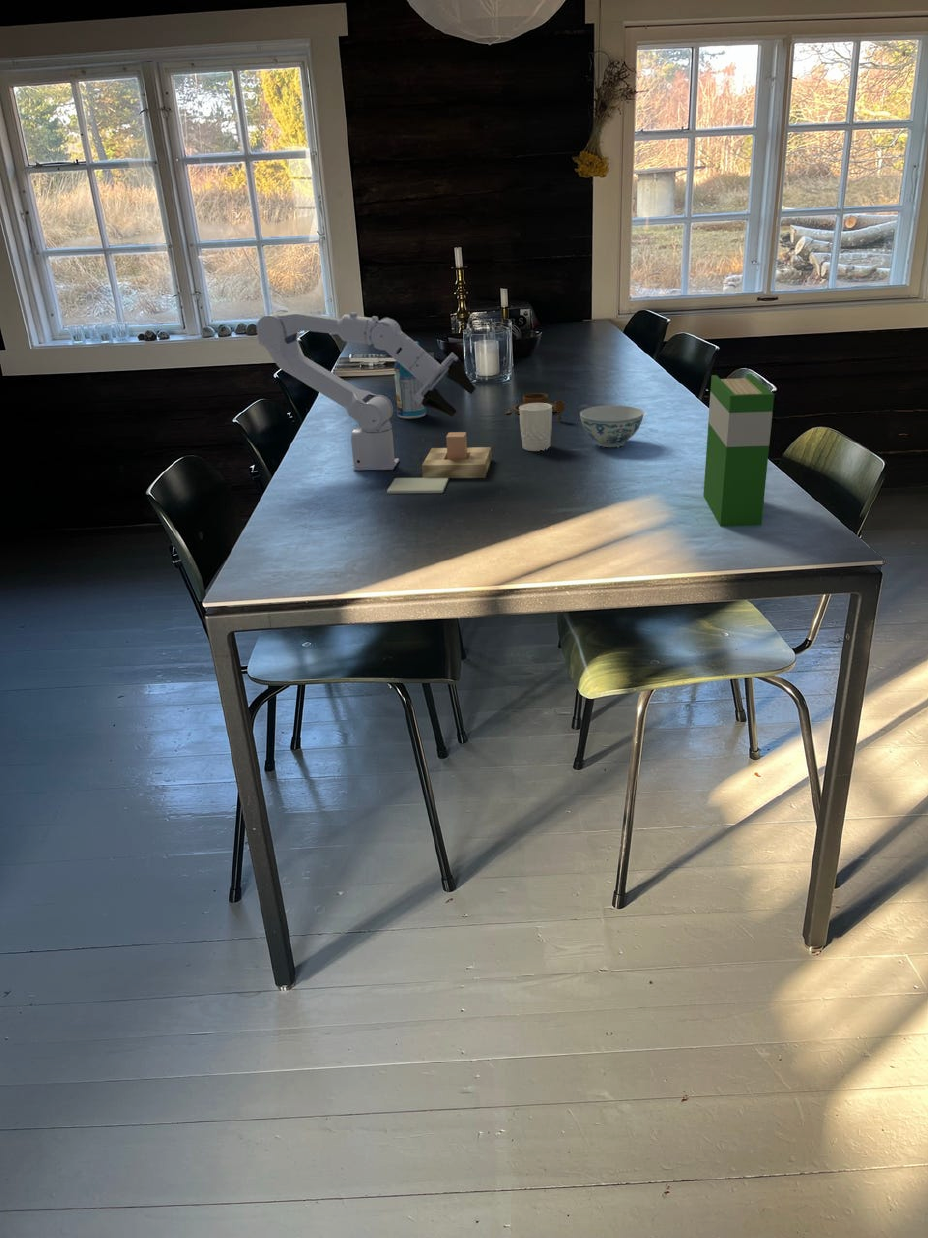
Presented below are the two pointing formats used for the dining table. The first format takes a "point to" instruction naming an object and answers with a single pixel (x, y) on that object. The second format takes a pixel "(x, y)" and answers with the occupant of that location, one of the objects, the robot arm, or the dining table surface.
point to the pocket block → (457, 464)
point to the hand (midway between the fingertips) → (464, 402)
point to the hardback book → (737, 450)
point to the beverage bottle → (407, 393)
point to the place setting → (540, 399)
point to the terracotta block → (456, 445)
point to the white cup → (535, 426)
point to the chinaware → (611, 424)
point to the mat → (418, 485)
